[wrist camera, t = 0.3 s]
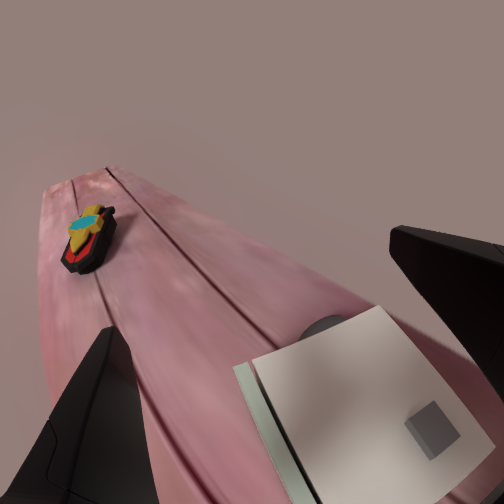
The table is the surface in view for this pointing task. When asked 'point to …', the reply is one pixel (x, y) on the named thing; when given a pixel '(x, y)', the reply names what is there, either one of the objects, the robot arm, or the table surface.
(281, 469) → the side door
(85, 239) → the gadget
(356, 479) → the camera case
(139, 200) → the table surface
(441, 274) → the robot arm
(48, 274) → the table surface
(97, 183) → the table surface
